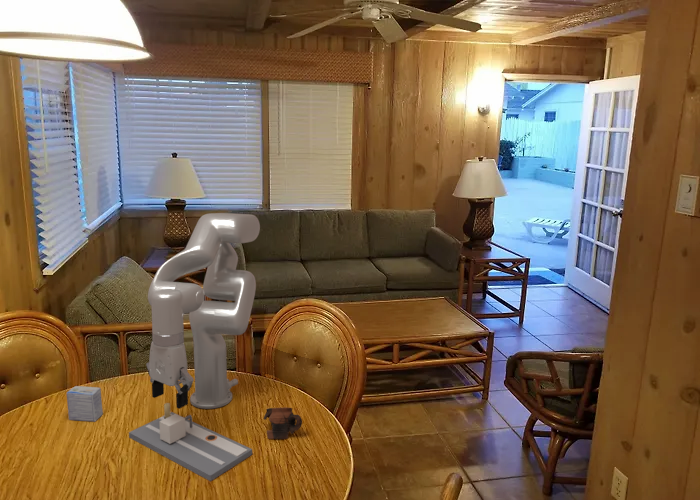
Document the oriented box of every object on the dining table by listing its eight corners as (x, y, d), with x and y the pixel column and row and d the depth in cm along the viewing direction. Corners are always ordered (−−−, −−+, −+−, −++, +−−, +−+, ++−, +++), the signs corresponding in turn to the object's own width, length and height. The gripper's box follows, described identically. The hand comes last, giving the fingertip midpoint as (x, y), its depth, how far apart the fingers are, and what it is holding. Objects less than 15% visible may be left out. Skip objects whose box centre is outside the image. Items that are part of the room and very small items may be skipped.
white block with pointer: (187, 424, 153) (186, 408, 152) (197, 429, 151) (196, 412, 150) (160, 438, 146) (159, 421, 145) (170, 443, 143) (169, 426, 142)
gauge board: (172, 416, 161) (171, 398, 160) (252, 454, 143) (252, 434, 142) (129, 437, 150) (127, 417, 148) (210, 481, 132) (209, 459, 131)
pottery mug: (256, 439, 151) (256, 408, 154) (274, 439, 159) (274, 409, 162) (295, 438, 147) (295, 406, 149) (311, 437, 155) (311, 407, 158)
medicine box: (103, 414, 161) (101, 387, 159) (94, 422, 157) (92, 394, 155) (77, 412, 162) (75, 385, 160) (68, 420, 157) (65, 392, 156)
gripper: (134, 334, 142) (136, 397, 145) (178, 349, 133) (180, 416, 136) (159, 327, 148) (161, 387, 152) (203, 341, 139) (204, 405, 142)
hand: (170, 401), depth 144 cm, fingers open, 9 cm apart
